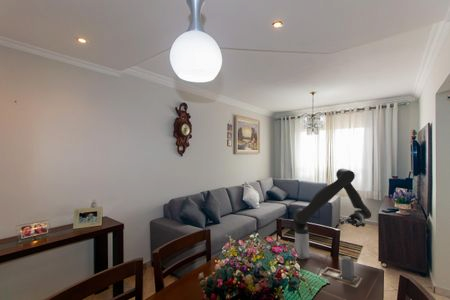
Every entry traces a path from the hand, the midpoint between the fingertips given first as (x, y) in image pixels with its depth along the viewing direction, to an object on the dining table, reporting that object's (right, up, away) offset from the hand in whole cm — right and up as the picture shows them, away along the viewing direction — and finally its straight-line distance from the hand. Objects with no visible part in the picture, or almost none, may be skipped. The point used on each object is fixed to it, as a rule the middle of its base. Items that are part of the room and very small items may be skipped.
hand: (348, 224), depth 144 cm
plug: (-7, -27, -12) cm, 30 cm away
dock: (-10, -28, -9) cm, 31 cm away
